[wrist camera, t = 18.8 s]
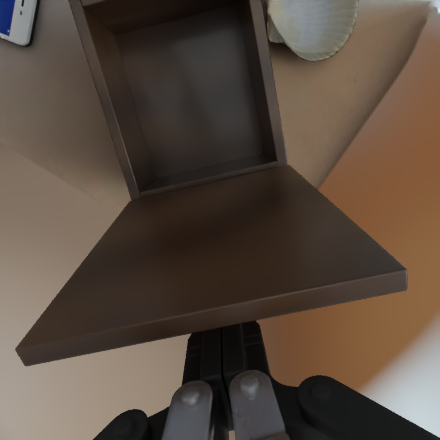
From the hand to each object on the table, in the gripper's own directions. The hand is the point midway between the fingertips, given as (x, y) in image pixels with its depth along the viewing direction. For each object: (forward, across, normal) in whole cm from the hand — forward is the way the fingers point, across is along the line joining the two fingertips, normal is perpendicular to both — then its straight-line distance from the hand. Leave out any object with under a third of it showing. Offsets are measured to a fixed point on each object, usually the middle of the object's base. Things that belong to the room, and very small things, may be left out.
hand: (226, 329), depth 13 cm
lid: (+5, 0, -4) cm, 6 cm away
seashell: (+21, -11, -16) cm, 28 cm away
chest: (+21, 0, -11) cm, 24 cm away
